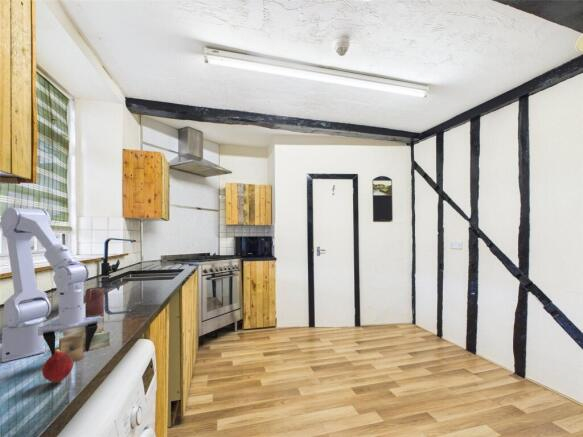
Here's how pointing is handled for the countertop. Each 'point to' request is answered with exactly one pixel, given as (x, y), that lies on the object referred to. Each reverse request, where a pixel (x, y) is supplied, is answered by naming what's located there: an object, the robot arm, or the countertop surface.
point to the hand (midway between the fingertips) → (70, 354)
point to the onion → (57, 367)
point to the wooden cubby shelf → (98, 339)
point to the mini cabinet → (72, 346)
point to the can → (94, 302)
